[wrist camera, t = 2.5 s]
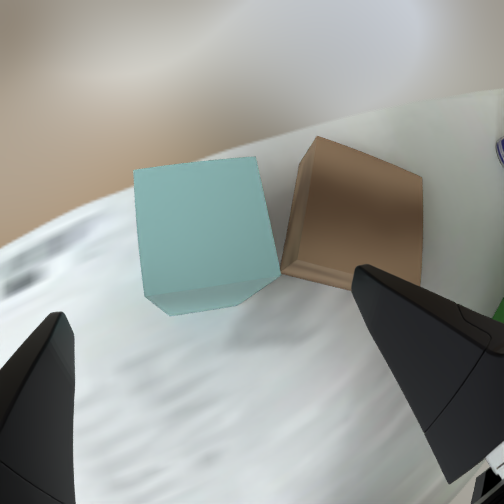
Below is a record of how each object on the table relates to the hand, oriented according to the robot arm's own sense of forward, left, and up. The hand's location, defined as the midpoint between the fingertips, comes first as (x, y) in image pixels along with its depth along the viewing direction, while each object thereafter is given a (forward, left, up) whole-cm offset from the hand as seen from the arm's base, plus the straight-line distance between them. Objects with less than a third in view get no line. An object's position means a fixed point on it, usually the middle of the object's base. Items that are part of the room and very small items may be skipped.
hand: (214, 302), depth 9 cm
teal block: (+2, +1, -10) cm, 10 cm away
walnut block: (+7, -8, -10) cm, 15 cm away
